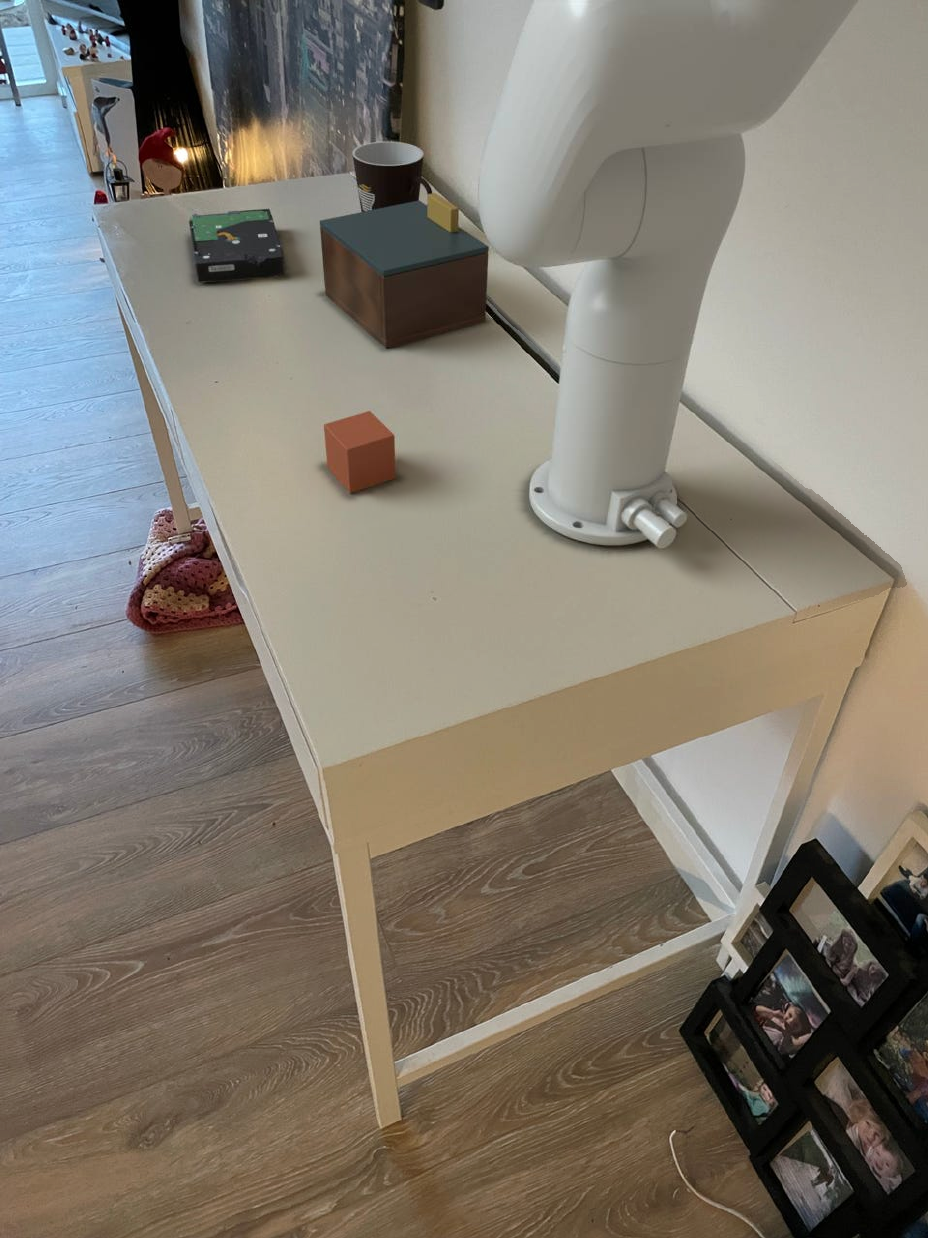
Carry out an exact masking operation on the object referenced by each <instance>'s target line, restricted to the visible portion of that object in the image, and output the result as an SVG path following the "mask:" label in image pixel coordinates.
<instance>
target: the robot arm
mask: <svg viewBox="0 0 928 1238" xmlns="http://www.w3.org/2000/svg"><path fill="white" fill-rule="evenodd" d="M859 1H860V0H533V1H532V3H531V6H530V8H529V11H528V14H527V17H526V19H525V22H524V24H523V28H522V30H521V33H520V36H519V39H518V42H517V45H516V48H515V52H514V54H513V57H512V60H511V62H510V63H511V64H510V65H509V69H508V72H507V75H506V77H505V78H506V79H505V81H504V84H503V87H502V90H501V93H500V96H499V99H498V102H497V105H496V108H495V111H494V114H493V116H492V120H491V123H490V127H489V129H488V132H487V136H486V139H485V142H484V147H483V151H482V155H481V159H480V165H479V166H480V167H479V173H478V180H477V206H478V207H477V208H478V214H479V219H480V224H481V227H482V230H483V233H484V235H485V238H486V239H487V241H488V243H489V245H490V246H491V247H492V249H493V250H494V251H495V252H496V253H497V254H498V256H500V257H501V258H502V259H504V260H505V261H506V262H508V263H511V264H513V265H515V266H519V267H522V268H530V269H531V268H532V269H540V268H552V267H560V266H566V265H574V264H581V263H585V264H584V266H583V268H582V269H581V271H580V273H579V276H577V279H576V282H575V284H574V286H573V289H572V292H571V295H570V297H569V301H568V306H567V312H566V319H565V326H564V335H563V343H562V344H563V346H562V352H561V361H560V370H559V380H558V390H557V396H556V397H557V399H556V408H555V416H554V425H553V434H552V435H553V436H552V443H551V452H550V453H551V454H550V458H549V459H547V460H546V461H544V462H543V463H542V464H540V465H539V466H538V467H537V469H536V470H534V472H533V474H532V476H531V479H530V482H529V491H528V498H529V499H528V500H529V503H530V506H531V508H532V510H533V512H534V514H535V515H536V516H537V517H538V519H540V520H541V521H542V522H543V523H544V524H545V525H546V526H548V527H549V528H550V529H552V530H553V531H555V532H557V533H559V534H561V535H563V536H566V537H567V538H570V539H572V540H575V541H579V542H583V543H585V544H586V543H587V544H591V545H599V546H624V545H632V544H637V543H641V542H645V541H647V540H649V542H651V543H652V544H653V545H654V546H656V547H657V548H658V549H660V550H661V549H666V548H667V547H669V546H670V545H671V544H672V543H673V541H674V540H675V538H676V536H677V530H676V529H677V528H680V527H682V526H683V525H685V523H686V522H687V519H688V514H687V513H686V512H685V511H684V510H682V509H681V508H680V507H679V506H678V496H677V491H676V489H675V486H674V484H673V481H674V477H673V476H672V475H670V474H669V473H668V472H667V471H666V468H667V464H668V463H667V462H668V458H669V453H670V448H671V443H672V439H673V434H674V430H675V425H676V421H677V416H678V411H679V406H680V401H681V397H682V392H683V387H684V383H685V378H686V373H687V368H688V363H689V360H690V359H689V358H690V355H691V349H692V345H693V344H694V343H693V342H694V339H695V334H696V329H697V324H698V319H699V315H700V311H701V308H702V304H703V303H702V302H703V298H704V295H705V291H706V288H707V284H708V280H709V277H710V274H711V271H712V268H713V266H714V263H715V260H716V258H717V255H718V253H719V249H720V247H721V245H722V243H723V240H724V238H725V236H726V233H727V231H728V229H729V226H730V225H731V222H732V219H733V217H734V214H735V213H736V210H737V207H738V203H739V200H740V197H741V193H742V190H743V186H744V181H745V180H744V179H745V172H746V151H745V143H744V140H743V135H742V134H744V133H747V132H750V131H752V130H754V129H757V128H759V127H760V126H762V125H763V124H764V123H766V122H767V121H769V120H770V119H771V118H773V116H774V115H775V114H776V113H777V112H778V111H779V110H780V108H781V107H782V106H783V105H784V103H785V102H786V101H787V100H788V99H789V97H790V96H791V95H792V94H793V92H795V90H796V88H797V87H798V85H799V84H800V83H801V81H802V80H803V79H804V78H805V76H806V74H807V73H808V72H809V70H810V69H811V68H812V66H813V65H814V63H815V62H816V61H817V59H818V58H819V57H820V55H821V54H822V53H823V51H824V49H825V48H826V46H827V45H828V44H829V42H830V41H831V40H832V38H833V37H834V35H835V34H836V33H837V32H838V30H839V29H840V27H841V26H842V24H843V23H844V21H845V20H846V19H847V18H848V17H849V15H850V13H851V12H852V10H853V9H854V7H855V6H856V5H857V3H858V2H859ZM418 3H419V4H421V5H424V6H425V7H427V8H430V9H432V10H433V11H439V10H442V9H443V7H444V6H445V0H418ZM672 525H673V526H674V527H673V526H672Z"/></svg>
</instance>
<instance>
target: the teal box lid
mask: <svg viewBox="0 0 928 1238" xmlns="http://www.w3.org/2000/svg"><path fill="white" fill-rule="evenodd" d="M426 199H427V203H424V202H422V201H421V200H419V201H414V202H409V203H404V204H399V205H395V206H390V207H385V208H380V209H375V210H370V211H365V212H360V211H359V212H355V213H351V214H346V215H341V216H335V217H331V218H326V219H320V220H319V227H322V228H323V229H325V230H326V231H327V232H328V233H330V234H331V235H332V236H333V237H335V238H336V239H337V240H338V241H340V242H341V243H342V244H343V245H345V246H346V247H347V248H349V249H350V250H351V251H352V252H354V253H355V254H356V255H357V256H359V257H360V258H361V259H362V260H364V261H365V262H366V263H367V264H369V265H370V266H371V267H372V268H374V269H375V270H376V271H377V272H379V273H380V274H381V275H382V276H388V275H392V274H397V273H401V272H405V271H409V270H414V269H418V268H422V267H427V266H431V265H435V264H439V263H444V262H448V261H452V260H456V259H461V258H465V257H469V256H473V255H478V254H482V253H486V252H488V253H489V252H490V246H489V245H488V244H486V243H484V242H483V241H481V240H480V239H478V238H477V237H475V236H474V235H472V234H471V233H469V232H467V231H466V230H465V229H463V228H462V227H461V226H459V224H460V223H459V222H460V221H459V220H460V219H459V218H460V217H459V216H460V209H459V207H457V206H456V205H455V204H454V203H451V202H450V201H449V200H447V199H445V198H443V197H442V196H440V195H439V194H437V193H436V192H432V194H427V198H426Z"/></svg>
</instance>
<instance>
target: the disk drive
mask: <svg viewBox="0 0 928 1238" xmlns="http://www.w3.org/2000/svg"><path fill="white" fill-rule="evenodd" d="M188 225H189V232H190V238H191V245H192V251H193V252H192V253H193V255H192V256H193V263H194V267H195V273H196V277H197V281H198V282H199V283H202V282H204V283H214V282H215V283H216V282H227V281H228V282H229V281H242V280H251V279H252V280H253V279H265V278H275V277H280V276H285V275H286V273H287V272H286V264H285V257H284V251H283V248H282V246H281V242H280V240H279V239H280V238H279V236H278V232H277V229H276V226H275V221H274V218H273V215H272V212H271V210H270V208H261V209H246V210H244V209H243V210H231V211H229V210H228V211H227V212H222V213H209V214H197V213H195V214H192V215H191V216H189V220H188Z"/></svg>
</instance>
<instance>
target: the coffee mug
mask: <svg viewBox="0 0 928 1238" xmlns="http://www.w3.org/2000/svg"><path fill="white" fill-rule="evenodd" d="M351 155H352V161H353V167H354V174H355V180H356V185H357V186H356V187H357V193H358V199H359V205H360V210H361V212H365V211H370V210H375V209H380V208H385V207H390V206H395V205H399V204H404V203H409V202H414V201H420V193H421V185H422V187H424V189H425V192H426V194H427V195H428V194H432V193H433V189H432V186H431V185H430V184H429V182H428V181H427V180H426V179H425V178H423V176H422V174H423V166H424V165H423V164H424V156H425V155H424V151H423V150H422V149H421V148H420V147H418V146H416V145H414V144H410V143H406V142H401V141H375V142H367V143H364V144H361V145H358V146H356V147H355V148H354V149H353V150H352V153H351Z"/></svg>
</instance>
